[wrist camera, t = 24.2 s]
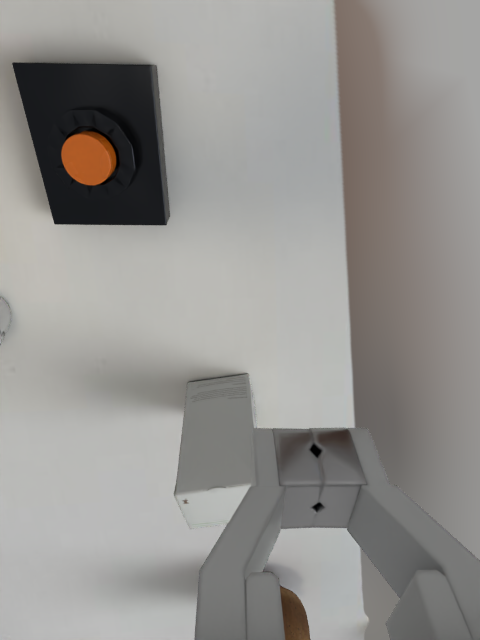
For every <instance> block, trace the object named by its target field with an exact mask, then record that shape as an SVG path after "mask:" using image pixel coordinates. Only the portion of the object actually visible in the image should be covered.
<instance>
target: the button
mask: <svg viewBox="0 0 480 640" xmlns="http://www.w3.org/2000/svg"><path fill="white" fill-rule="evenodd" d="M61 158H62V162H63V165H64V167H65V169H66V171H67V172H68V174H69V175H70V176H71V177H72V178H73V179H75V180H76V181H78V182H80V183H82V184H85V185H98V184H100V183H102V182H104V181H105V180H106V179H107V178H108V177H109V176H110V175H111V174H112V173H113V172H114V170H115V167H116V154H115V151H114V149H113V147H112V145H111V144H110V142H109V141H108V140H107V139H106V138H105V137H104V136H102V135H101V134H99V133H96V132H93V131H83V132H80V133H77V134H75V135H73V136H71V137H69V138H68V139H67V140H66V141H65V143H64V144H63V147H62V151H61Z"/></svg>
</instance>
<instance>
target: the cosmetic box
mask: <svg viewBox="0 0 480 640" xmlns="http://www.w3.org/2000/svg"><path fill="white" fill-rule="evenodd" d="M253 428H257V420H256V410H255V402H254V397H253V392H252V387H251V382H250V377H249V374H245V375H238V376H231V377H224V378H217V379H210V380H203V381H196V382H189V383H188V384H187V391H186V400H185V410H184V418H183V427H182V436H181V445H180V454H179V463H178V472H177V480H176V486H175V491H174V496H175V498H176V500H177V503H178V505H179V507H180V509H181V511H182V513H183V515H184V518H185V520H186V522H187V525H188V527H189V529H195V528H203V527H211V526H218V525H226V524H228V523H229V521H230V519H231V518H232V516H233V514H234V513H235V511H236V509H237V508H238V506H239V504H240V503H241V501H242V499H243V498H244V496H245V494H246V493H247V491H248V489H249V488H250V486H251V444H252V429H253Z"/></svg>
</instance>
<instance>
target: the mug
mask: <svg viewBox="0 0 480 640" xmlns="http://www.w3.org/2000/svg"><path fill="white" fill-rule="evenodd" d="M10 323H11V311H10V308H9V306H8V304H7V303H6V301H5V300H4V299H3V298H2V297H1V296H0V344H1V342H2V340H3V338H4V336H5V334H6V332H7V330H8V328H9V326H10Z"/></svg>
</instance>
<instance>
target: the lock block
mask: <svg viewBox="0 0 480 640" xmlns="http://www.w3.org/2000/svg"><path fill="white" fill-rule="evenodd" d="M12 65H13V68H14V72H15V76H16V80H17V84H18V87H19V91H20V95H21V99H22V103H23V106H24V110H25V114H26V118H27V121H28V125H29V129H30V133H31V137H32V140H33V144H34V148H35V152H36V156H37V159H38V163H39V167H40V171H41V175H42V178H43V182H44V186H45V190H46V193H47V197H48V201H49V205H50V209H51V212H52V216H53V220H54V224H80V225H167V222H168V220H169V217H170V211H169V200H168V188H167V177H166V166H165V155H164V143H163V132H162V121H161V110H160V98H159V87H158V76H157V66H156V65H124V64H70V63H14V62H13V63H12ZM83 131H93V132H96V133H99V134H101V135H102V136H104V137H105V138H106V139H107V140H108V141H109V142H110V144H111V145H112V147H113V149H114V151H115V154H116V167H115V170H114V172H113V173H112V174H111V175H110V176H109V177H108V178H107V179H106V180H105V181H104V182H102V183H100V184H98V185H85V184H82V183H80V182H78V181H76V180H75V179H73V178H72V177H71V176H70V175H69V174H68V172H67V171H66V169H65V167H64V165H63V162H62V158H61V151H62V147H63V144H64V143H65V141H66V140H67V139H68V138H69V137H71V136H73V135H75V134H77V133H80V132H83Z"/></svg>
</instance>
